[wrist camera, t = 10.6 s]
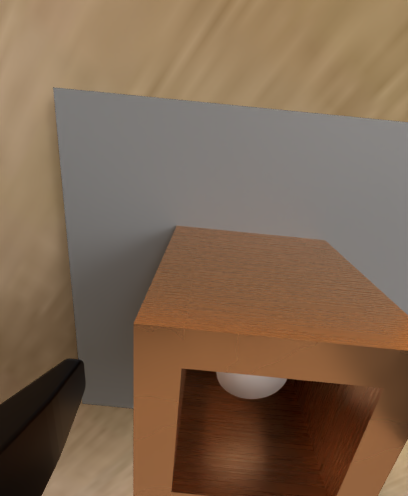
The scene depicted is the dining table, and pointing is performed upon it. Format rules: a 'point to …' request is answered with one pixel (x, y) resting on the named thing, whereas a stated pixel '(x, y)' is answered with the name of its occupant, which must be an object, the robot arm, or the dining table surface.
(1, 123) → the dining table surface
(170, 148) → the stand
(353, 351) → the hollow wooden cube
